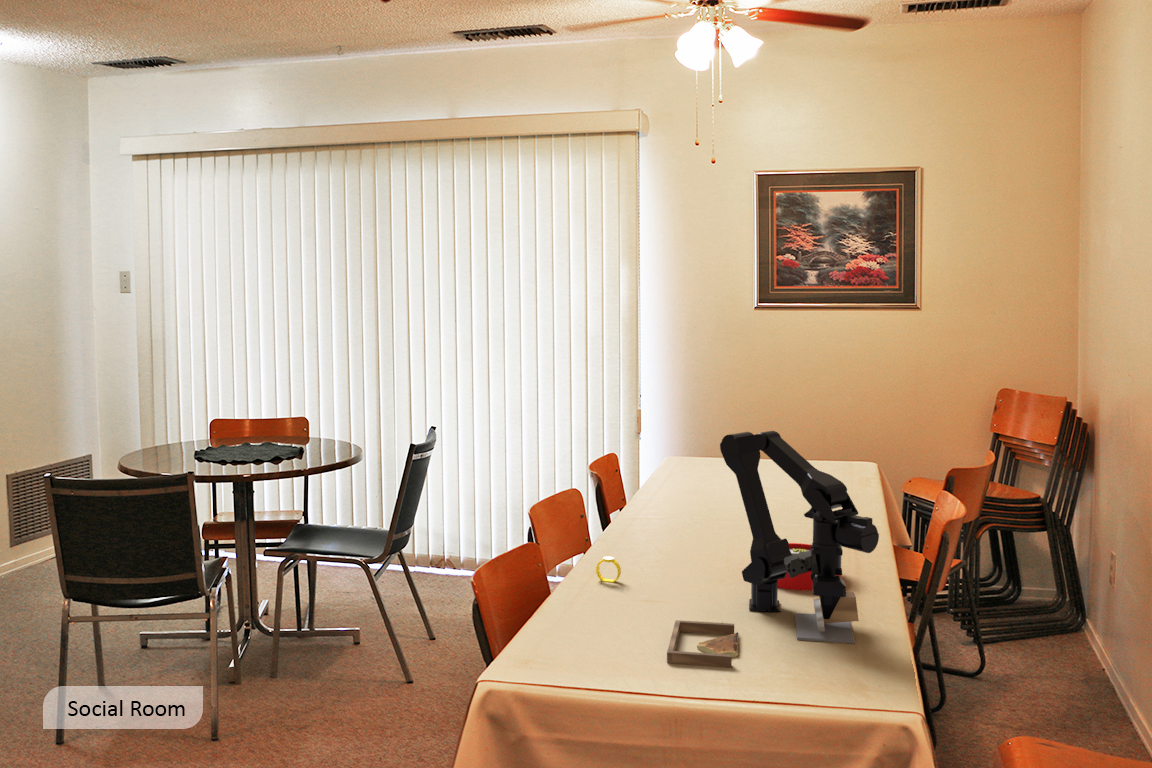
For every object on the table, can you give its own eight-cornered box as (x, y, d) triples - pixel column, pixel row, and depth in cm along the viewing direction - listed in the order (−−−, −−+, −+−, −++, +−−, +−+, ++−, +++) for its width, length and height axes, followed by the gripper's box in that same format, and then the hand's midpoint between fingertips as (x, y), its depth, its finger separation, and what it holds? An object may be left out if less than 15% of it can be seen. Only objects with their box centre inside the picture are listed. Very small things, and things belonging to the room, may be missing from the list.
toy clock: (787, 538, 233) (856, 554, 218) (787, 560, 233) (856, 578, 218) (738, 554, 220) (808, 572, 205) (738, 577, 220) (808, 597, 205)
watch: (621, 582, 218) (622, 558, 218) (617, 585, 216) (619, 561, 215) (598, 577, 221) (599, 554, 220) (594, 581, 218) (595, 557, 217)
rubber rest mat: (795, 615, 194) (795, 612, 194) (848, 618, 191) (848, 615, 191) (797, 639, 180) (797, 637, 180) (854, 643, 178) (854, 641, 178)
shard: (737, 639, 182) (737, 630, 182) (763, 651, 176) (763, 642, 176) (695, 650, 177) (695, 641, 177) (720, 664, 170) (720, 654, 170)
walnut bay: (675, 629, 187) (675, 620, 186) (734, 633, 184) (734, 623, 184) (667, 662, 170) (666, 652, 170) (731, 667, 168) (731, 656, 167)
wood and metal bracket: (814, 610, 192) (811, 587, 191) (854, 607, 190) (851, 584, 190) (818, 631, 180) (815, 607, 180) (861, 628, 178) (858, 604, 178)
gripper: (785, 528, 195) (784, 598, 196) (787, 553, 176) (786, 630, 178) (839, 530, 192) (837, 601, 194) (846, 555, 174) (845, 633, 176)
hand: (825, 615), depth 185 cm, fingers closed on wood and metal bracket, 3 cm apart
